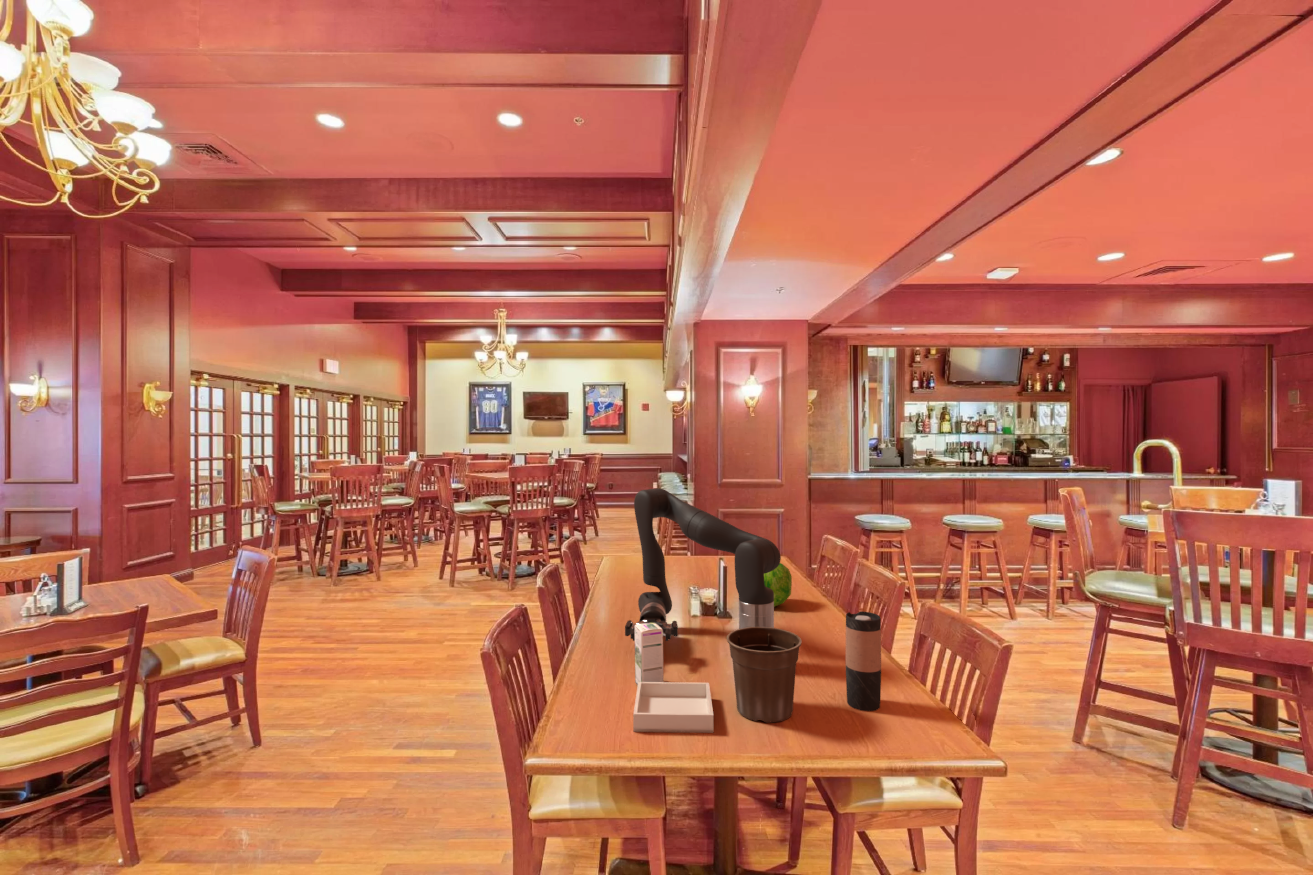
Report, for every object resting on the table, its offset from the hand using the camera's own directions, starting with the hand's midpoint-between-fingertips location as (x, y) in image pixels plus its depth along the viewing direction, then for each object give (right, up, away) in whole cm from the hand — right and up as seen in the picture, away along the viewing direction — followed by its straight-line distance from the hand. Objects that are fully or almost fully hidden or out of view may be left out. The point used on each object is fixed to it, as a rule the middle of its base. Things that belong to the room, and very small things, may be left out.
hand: (650, 637), depth 156 cm
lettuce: (+42, -9, +61) cm, 74 cm away
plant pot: (+25, -9, -24) cm, 36 cm away
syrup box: (0, -9, -10) cm, 13 cm away
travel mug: (+48, -9, -21) cm, 53 cm away
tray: (+5, -8, -25) cm, 27 cm away
